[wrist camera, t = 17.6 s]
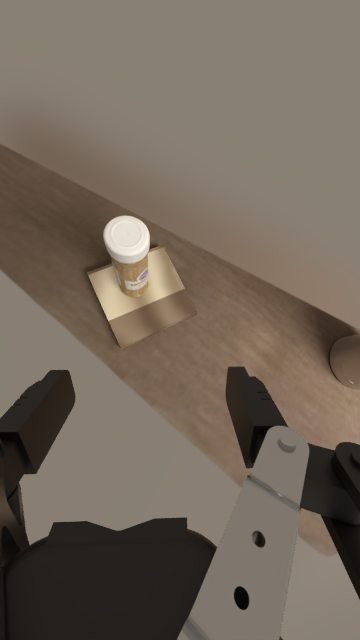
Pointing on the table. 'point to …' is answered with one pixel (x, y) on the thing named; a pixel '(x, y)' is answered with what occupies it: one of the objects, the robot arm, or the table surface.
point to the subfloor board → (143, 300)
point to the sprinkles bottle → (129, 253)
